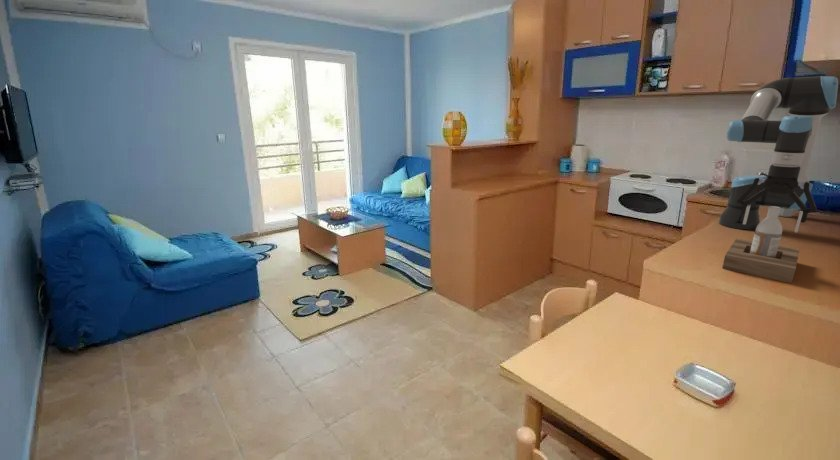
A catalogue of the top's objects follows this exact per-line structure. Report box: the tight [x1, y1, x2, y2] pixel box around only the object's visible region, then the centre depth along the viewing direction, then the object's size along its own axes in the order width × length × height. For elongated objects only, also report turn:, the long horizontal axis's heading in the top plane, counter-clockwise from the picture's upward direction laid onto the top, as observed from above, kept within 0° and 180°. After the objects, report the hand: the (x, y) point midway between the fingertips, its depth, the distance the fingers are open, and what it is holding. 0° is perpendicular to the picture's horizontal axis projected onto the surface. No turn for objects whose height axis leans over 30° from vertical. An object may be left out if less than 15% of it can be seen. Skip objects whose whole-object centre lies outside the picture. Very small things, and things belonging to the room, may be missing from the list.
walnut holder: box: [721, 238, 800, 284], centre depth 141 cm, size 24×18×5 cm
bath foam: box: [750, 206, 783, 258], centre depth 138 cm, size 7×7×20 cm
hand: (769, 227), depth 138 cm, fingers open, 13 cm apart
